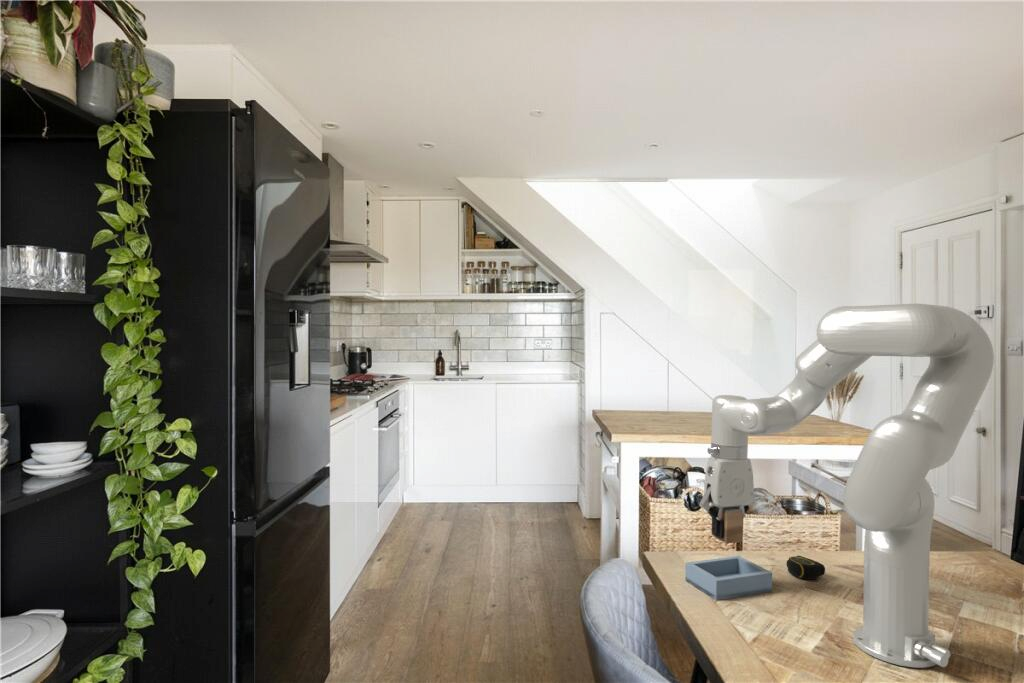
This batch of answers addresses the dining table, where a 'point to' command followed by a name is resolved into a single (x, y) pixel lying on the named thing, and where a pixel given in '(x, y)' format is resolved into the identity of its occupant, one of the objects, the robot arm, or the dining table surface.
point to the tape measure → (805, 567)
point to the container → (728, 577)
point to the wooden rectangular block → (731, 525)
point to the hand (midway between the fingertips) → (726, 534)
